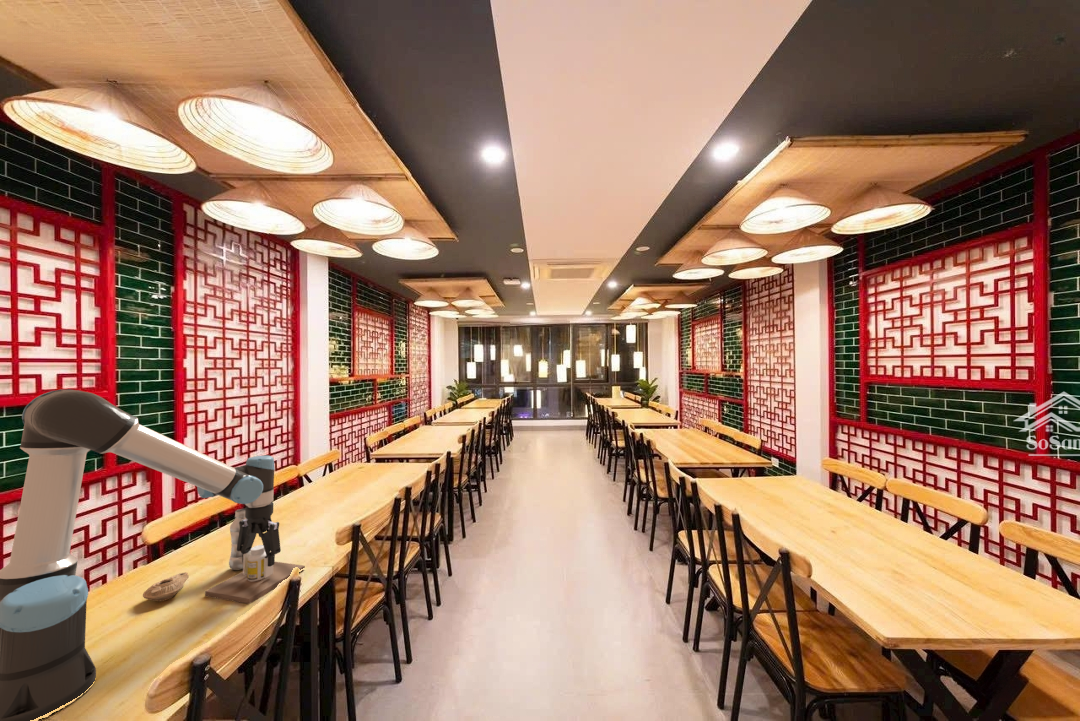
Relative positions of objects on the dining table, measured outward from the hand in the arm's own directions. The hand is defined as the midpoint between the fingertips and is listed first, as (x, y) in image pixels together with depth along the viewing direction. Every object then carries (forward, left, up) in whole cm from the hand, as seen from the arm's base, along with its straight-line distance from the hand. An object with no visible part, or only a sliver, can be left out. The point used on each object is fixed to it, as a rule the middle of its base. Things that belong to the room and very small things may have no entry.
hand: (258, 573), depth 126 cm
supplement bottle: (0, 0, -1) cm, 1 cm away
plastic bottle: (+6, +14, -3) cm, 16 cm away
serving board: (0, 0, -3) cm, 3 cm away
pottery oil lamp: (-12, +20, -3) cm, 23 cm away
